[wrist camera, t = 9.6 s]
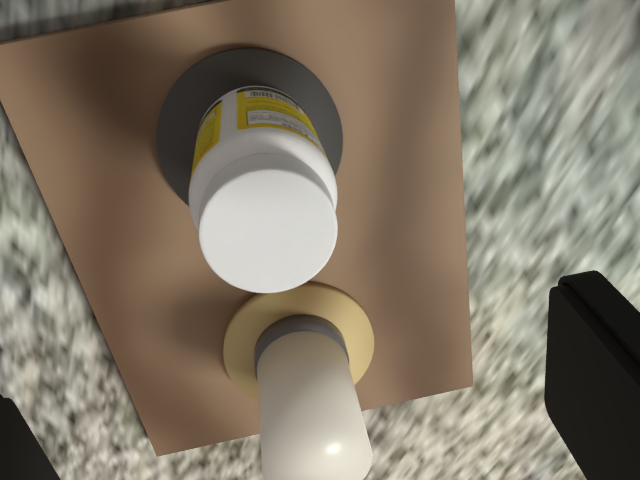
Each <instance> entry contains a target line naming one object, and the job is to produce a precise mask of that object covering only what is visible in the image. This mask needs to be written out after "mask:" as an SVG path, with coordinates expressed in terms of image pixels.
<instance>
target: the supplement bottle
mask: <svg viewBox="0 0 640 480" xmlns="http://www.w3.org/2000/svg"><path fill="white" fill-rule="evenodd" d="M336 206H337V185H336V180H335V176H334V172H333V170H332V168H331V165H330V163H329V161H328V158H327V156H326V154H325V152H324V150H323V147H322V145H321V143H320V141H319V139H318V136H317V134H316V132H315V130H314V128H313V125H312V123H311V121H310V119H309V117H308V115H307V114H306V112H305V111H304V109H303V108H302V107H301V106H300V105H299V104H298V103H297V102H296V101H295V100H294V99H293V98H291V97H290V96H289V95H287V94H285V93H284V92H282V91H279V90H277V89H274V88H270V87H265V86H246V87H242V88H238V89H235V90H233V91H230V92H228V93H227V94H225V95H223V96H222V97H220V98H219V99H218V100H217V101H216V102H215V103H214V104H213V105H212V106H211V107H210V108H209V109H208V110H207V112H206V113H205V115H204V117H203V118H202V121H201V123H200V126H199V129H198V134H197V140H196V146H195V153H194V160H193V166H192V173H191V179H190V185H189V207H190V213H191V216H192V219H193V222H194V225H195V227H196V229H197V231H198V239H199V244H200V248H201V251H202V253H203V256H204V258H205V260H206V261H207V263H208V264H209V266H210V267H211V269H212V270H213V271H214V272H215V273H216V274H217V275H218V276H219V277H221V278H222V279H223V280H225V281H226V282H228V283H229V284H231V285H233V286H235V287H238V288H240V289H243V290H247V291H250V292H256V293H276V292H282V291H286V290H289V289H293V288H295V287H297V286H299V285H301V284H303V283H305V282H307V281H308V280H310V279H311V278H313V277H314V276H315V275H316V274H317V273H318V272H319V271H320V270H321V269H322V268H323V267H324V266H325V264H326V263H327V262H328V260H329V258H330V257H331V255H332V252H333V250H334V248H335V244H336V240H337V231H338V224H337V217H336V213H335V211H336Z"/></svg>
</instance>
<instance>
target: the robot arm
mask: <svg viewBox="0 0 640 480" xmlns="http://www.w3.org/2000/svg"><path fill="white" fill-rule="evenodd" d="M544 399H545V406H546V409H547V412H548V415H549V417H550V419H551V421H552V423H553V424H554V426H555V427H556V429H557V431H558V432H559V434H560V436H561V437H562V439H563V441H564V442H565V444H566V446H567V447H568V449H569V451H570V452H571V454H572V456H573V457H574V459H575V461H576V462H577V464H578V466H579V467H580V469H581V470H582V472H583V474H584V475H585V477H586V479H587V480H640V312H639V311H638V310H637V309H636V308H635V307H634V306H633V305H632V304H631V303H630V302H629V301H628V300H627V299H626V298H625V297H624V296H623V295H622V294H621V293H620V292H619V291H618V290H617V289H616V288H615V287H614V286H613V285H612V284H611V283H610V282H609V281H608V280H607V279H606V278H605V277H604V276H603V275H602V274H601V273H599V272H598V271H594V270H593V271H588V272H583V273H578V274H573V275H568V276H563V277H561V278H560V280H559V282H558V286H556V287H553V288H551V290H550V294H549V312H548V332H547V353H546V374H545V395H544ZM0 480H60V478H59V476H58V475H57V473H56V471H55V470H54V468H53V466H52V465H51V463H50V461H49V460H48V458H47V456H46V455H45V453H44V451H43V450H42V448H41V446H40V445H39V443H38V441H37V440H36V438H35V436H34V435H33V433H32V431H31V430H30V428H29V426H28V425H27V423H26V421H25V420H24V418H23V416H22V415H21V413H20V411H19V410H18V408H17V406H16V405H15V403H14V402H13V401H12V400H11V399H10V398H3V397H2V395H1V394H0Z"/></svg>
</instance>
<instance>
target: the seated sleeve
mask: <svg viewBox="0 0 640 480" xmlns="http://www.w3.org/2000/svg"><path fill="white" fill-rule="evenodd" d="M254 364H255V376H256V379H257V382H258V400H259V419H260V437H261V456H262V472H263V477H264V479H265V480H363V479H364V478H365V476H366V475H367V473H368V472H369V469H370V467H371V464H372V457H373V456H372V449H371V446H370V442H369V438H368V435H367V431H366V427H365V423H364V420H363V416H362V412H361V408H360V405H359V401H358V397H357V393H356V390H355V386H354V382H353V379H352V375H351V371H350V367H349V356H348V352H347V348H346V345H345V341H344V337H343V335H342V333H341V332H340V330H339V329H338V328H337V327H336V326H335V325H334V324H333V323H332V322H330V321H329V320H327V319H325V318H322V317H320V316H316V315H311V314H297V315H291V316H287V317H284V318H282V319H279V320H277V321H275V322H274V323H272V324H271V325H269V326H268V327H267V328H266V329H265V330H264V331H263V332H262V333H261V335H260V336H259V338H258V340H257V342H256V345H255V349H254Z"/></svg>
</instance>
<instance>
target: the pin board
mask: <svg viewBox="0 0 640 480" xmlns="http://www.w3.org/2000/svg"><path fill="white" fill-rule="evenodd" d="M246 86H265V87H270V88H274V89H277V90H279V91H282V92H284V93H285V94H287V95H289V96H290V97H291V98H293V99H294V100H295V101H296V102H297V103H298V104H299V105H300V106H301V107H302V108H303V109H304V111H305V112H306V114H307V115H308V117H309V119H310V121H311V123H312V125H313V128H314V130H315V132H316V134H317V136H318V139H319V141H320V143H321V145H322V147H323V150H324V152H325V154H326V156H327V158H328V161H329V163H330V165H331V168H332V170H333V172H334V176H335V180H336V185H337V206H336V211H335V213H336V217H337V224H338V231H337V240H336V244H335V248H334V250H333V252H332V255H331V257H330V258H329V260H328V262H327V263H326V264H325V266H324V267H323V268H322V269H321V270H320V271H319V272H318V273H317V274H316V275H315V276H314V277H313V278H311V279H310V280H308V281H307V282H305V283H303V284H301V285H299V286H297V287H295V288H293V289H289V290H286V291H282V292H276V293H256V292H250V291H247V290H243V289H240V288H238V287H235V286H233V285H231V284H229V283H228V282H226V281H225V280H223V279H222V278H221V277H219V276H218V275H217V274H216V273H215V272H214V271H213V270H212V269H211V267H210V266H209V264H208V263H207V261H206V260H205V258H204V256H203V253H202V251H201V248H200V244H199V239H198V231H197V229H196V227H195V225H194V222H193V219H192V216H191V213H190V207H189V185H190V179H191V173H192V166H193V160H194V153H195V146H196V140H197V134H198V129H199V126H200V123H201V121H202V118H203V117H204V115H205V113H206V112H207V110H208V109H209V108H210V107H211V106H212V105H213V104H214V103H215V102H216V101H217V100H218V99H219V98H220V97H222V96H223V95H225V94H227V93H228V92H230V91H233V90H235V89H238V88H242V87H246ZM0 100H1V103H2V105H3V107H4V109H5V112H6V114H7V116H8V119H9V121H10V123H11V125H12V128H13V130H14V132H15V134H16V137H17V139H18V141H19V144H20V146H21V148H22V150H23V153H24V155H25V157H26V159H27V162H28V164H29V166H30V169H31V171H32V173H33V175H34V178H35V180H36V182H37V184H38V187H39V189H40V191H41V194H42V196H43V198H44V200H45V203H46V205H47V207H48V210H49V212H50V214H51V216H52V219H53V221H54V223H55V225H56V228H57V230H58V232H59V235H60V237H61V239H62V241H63V244H64V246H65V248H66V250H67V253H68V255H69V257H70V260H71V262H72V264H73V266H74V269H75V271H76V273H77V276H78V278H79V280H80V282H81V285H82V287H83V289H84V291H85V294H86V296H87V298H88V301H89V303H90V305H91V307H92V310H93V312H94V314H95V316H96V319H97V321H98V323H99V326H100V328H101V330H102V332H103V335H104V337H105V339H106V342H107V344H108V346H109V348H110V351H111V353H112V355H113V357H114V360H115V362H116V364H117V367H118V369H119V371H120V373H121V376H122V378H123V380H124V382H125V385H126V387H127V389H128V392H129V394H130V396H131V398H132V401H133V403H134V405H135V407H136V410H137V412H138V414H139V417H140V419H141V421H142V423H143V426H144V428H145V430H146V433H147V435H148V437H149V439H150V442H151V444H152V446H153V448H154V451H155V453H156V455H157V456H162V455H166V454H171V453H175V452H180V451H184V450H189V449H193V448H198V447H202V446H207V445H211V444H216V443H220V442H225V441H229V440H234V439H238V438H243V437H247V436H252V435H256V434H260V419H259V400H258V382H257V379H256V376H255V364H254V349H255V345H256V342H257V340H258V338H259V336H260V335H261V333H262V332H263V331H264V330H265V329H266V328H267V327H268V326H269V325H271V324H272V323H274V322H275V321H277V320H279V319H282V318H284V317H287V316H291V315H297V314H311V315H316V316H320V317H322V318H325V319H327V320H329V321H330V322H332V323H333V324H334V325H335V326H336V327H337V328H338V329H339V330H340V332H341V333H342V335H343V337H344V341H345V345H346V348H347V352H348V356H349V367H350V371H351V375H352V379H353V382H354V386H355V390H356V393H357V397H358V401H359V405H360V408H361V411H364V410H368V409H373V408H377V407H382V406H386V405H390V404H395V403H399V402H404V401H408V400H413V399H417V398H422V397H426V396H431V395H435V394H440V393H444V392H449V391H453V390H458V389H462V388H467V387H471V386H473V372H472V352H471V331H470V311H469V290H468V269H467V249H466V228H465V208H464V187H463V166H462V146H461V125H460V105H459V84H458V63H457V43H456V22H455V1H454V0H214V1H209V2H203V3H198V4H193V5H188V6H183V7H178V8H172V9H167V10H162V11H157V12H152V13H147V14H142V15H136V16H131V17H126V18H121V19H116V20H111V21H105V22H100V23H95V24H90V25H85V26H80V27H74V28H69V29H64V30H59V31H54V32H49V33H44V34H38V35H33V36H28V37H23V38H18V39H13V40H7V41H2V42H0Z"/></svg>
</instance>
